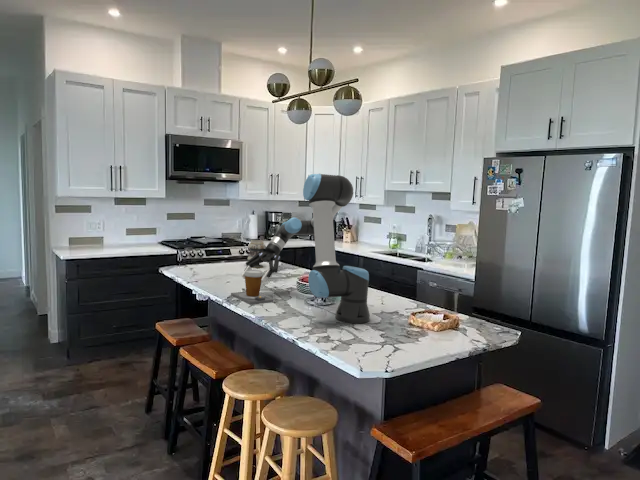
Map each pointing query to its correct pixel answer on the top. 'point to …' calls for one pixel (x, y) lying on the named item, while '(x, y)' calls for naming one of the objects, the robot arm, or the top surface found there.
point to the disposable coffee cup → (253, 282)
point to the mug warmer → (252, 298)
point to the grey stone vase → (256, 250)
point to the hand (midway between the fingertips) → (252, 279)
